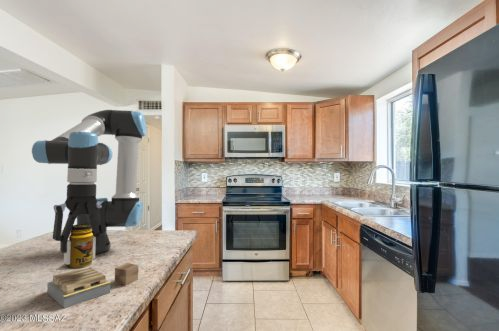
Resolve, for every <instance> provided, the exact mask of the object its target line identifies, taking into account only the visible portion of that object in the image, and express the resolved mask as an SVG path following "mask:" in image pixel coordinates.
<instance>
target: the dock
mask: <svg viewBox="0 0 499 331" xmlns="http://www.w3.org/2000/svg"><path fill="white" fill-rule="evenodd" d="M111 285H112V284H111V281H110V280H108V279H106V283H103V284H99V283H97V282H94V283H91V287H90V288H87V289H84V288H82V287H77V288H74V293H71V294H66V293H65V292H64V291H63V290H61V289H60V288H59V287H58V286H57V285H55V284H54V283H53V280H51V281H47V290H46V293H47V294H48V295H49V296H50V297H52V299H53V300H55V301H56V302H57V303H58V305H59V306H61V307H62V309H66V308H70V307H72V306H75V305H78V304H81V303H84V302H87V301H88V300H92V299H94V298H98V297H101V296H104V295H107V294H109V293H111Z"/></svg>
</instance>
